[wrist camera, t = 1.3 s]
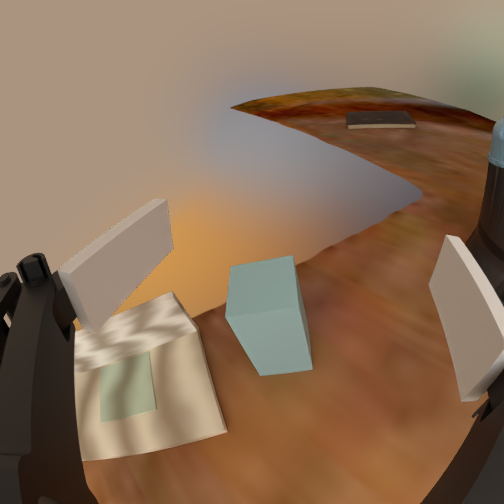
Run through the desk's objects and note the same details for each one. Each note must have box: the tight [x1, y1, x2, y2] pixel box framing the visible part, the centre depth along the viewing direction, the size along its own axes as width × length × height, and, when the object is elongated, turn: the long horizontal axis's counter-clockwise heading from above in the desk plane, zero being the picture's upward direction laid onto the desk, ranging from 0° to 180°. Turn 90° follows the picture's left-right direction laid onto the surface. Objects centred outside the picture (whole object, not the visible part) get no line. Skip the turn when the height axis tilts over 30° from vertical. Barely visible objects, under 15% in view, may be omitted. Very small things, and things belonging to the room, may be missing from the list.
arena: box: [74, 291, 228, 461], centre depth 28 cm, size 24×16×8 cm, turn 109°
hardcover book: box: [347, 111, 416, 129], centre depth 81 cm, size 16×23×2 cm
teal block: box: [225, 255, 313, 376], centre depth 28 cm, size 6×6×12 cm
